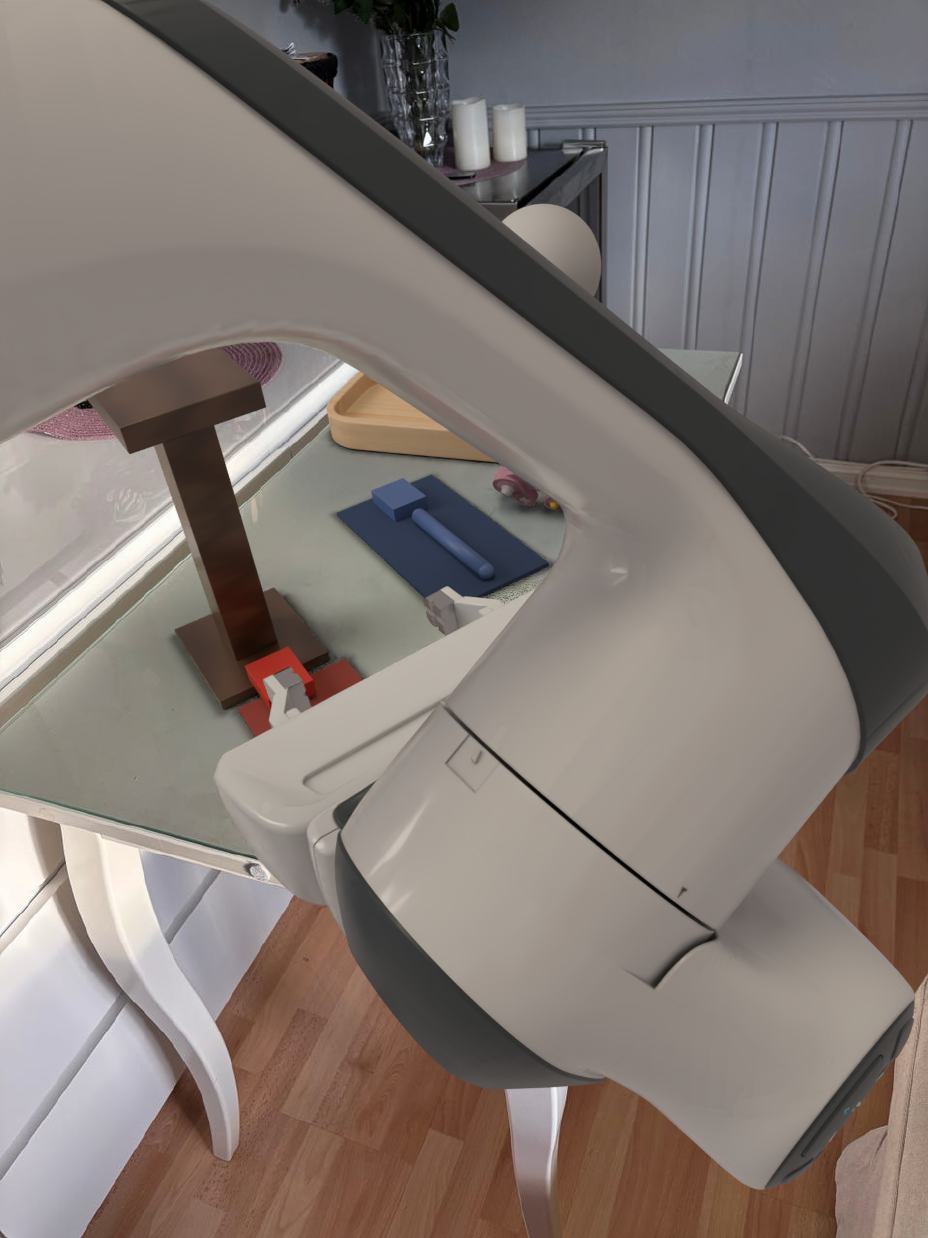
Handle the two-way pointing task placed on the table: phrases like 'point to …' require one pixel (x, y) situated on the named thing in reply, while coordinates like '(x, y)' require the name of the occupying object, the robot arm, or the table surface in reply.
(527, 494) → the video game controller
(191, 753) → the table surface
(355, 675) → the red mat
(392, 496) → the blue toy mallet
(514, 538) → the blue mat
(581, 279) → the lamp
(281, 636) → the brown stand
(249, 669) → the red toy mallet
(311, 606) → the table surface
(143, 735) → the table surface
